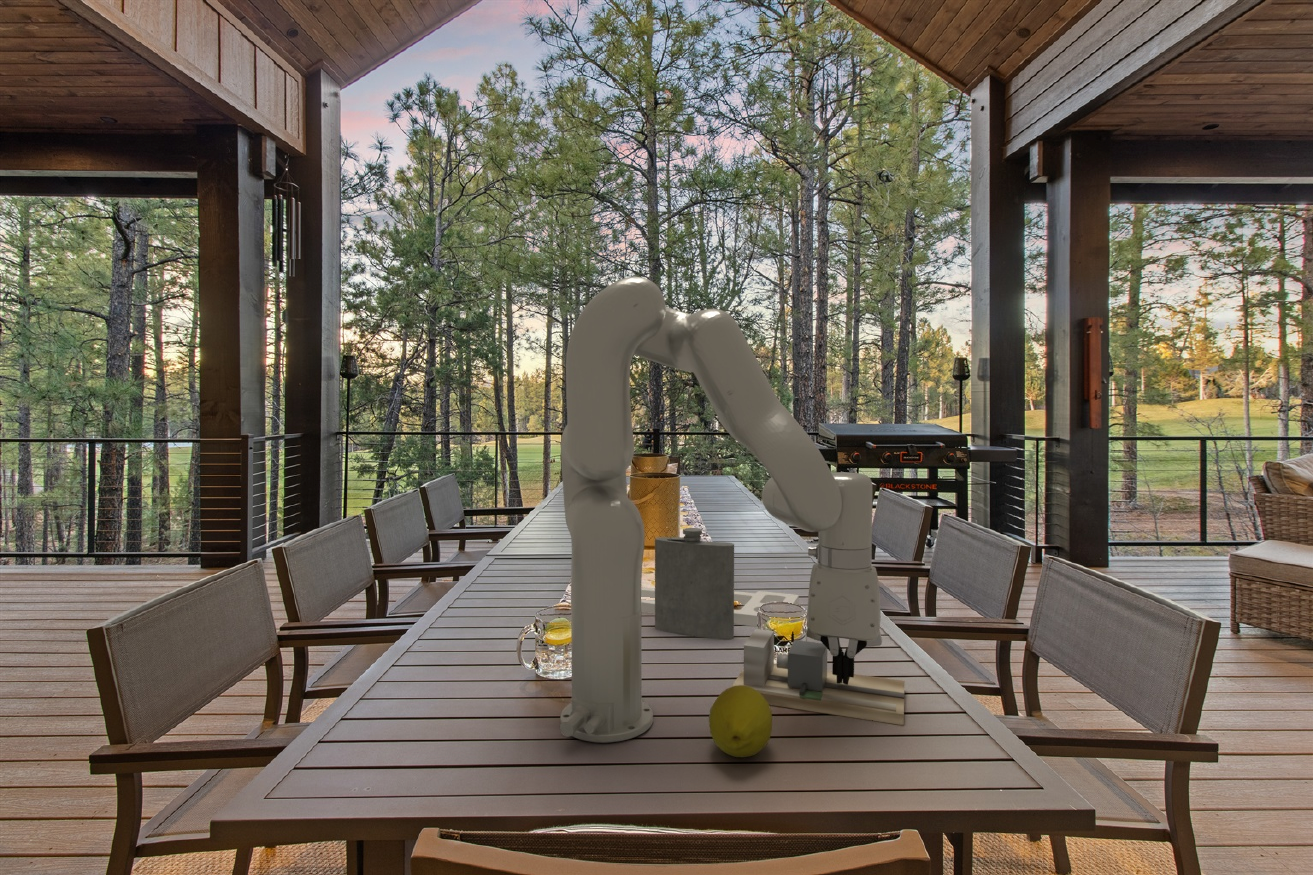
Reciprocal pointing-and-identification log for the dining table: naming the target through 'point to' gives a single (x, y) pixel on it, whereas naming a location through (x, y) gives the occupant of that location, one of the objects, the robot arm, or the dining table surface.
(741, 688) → the lemon
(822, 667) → the block
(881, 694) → the track board
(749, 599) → the holder
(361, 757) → the dining table surface
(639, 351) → the robot arm
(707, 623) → the hip flask
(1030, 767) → the dining table surface
